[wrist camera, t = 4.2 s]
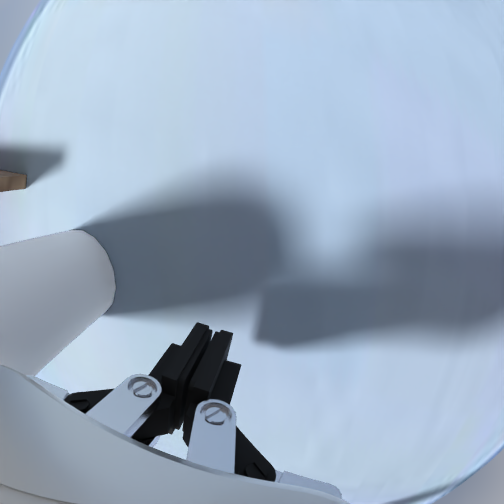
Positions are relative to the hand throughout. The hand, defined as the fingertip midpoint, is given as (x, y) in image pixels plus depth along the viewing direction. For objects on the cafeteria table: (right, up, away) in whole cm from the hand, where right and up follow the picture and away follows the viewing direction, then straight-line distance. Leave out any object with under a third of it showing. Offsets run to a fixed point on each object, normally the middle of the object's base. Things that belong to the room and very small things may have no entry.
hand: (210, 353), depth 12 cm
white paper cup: (-9, +3, +3) cm, 10 cm away
